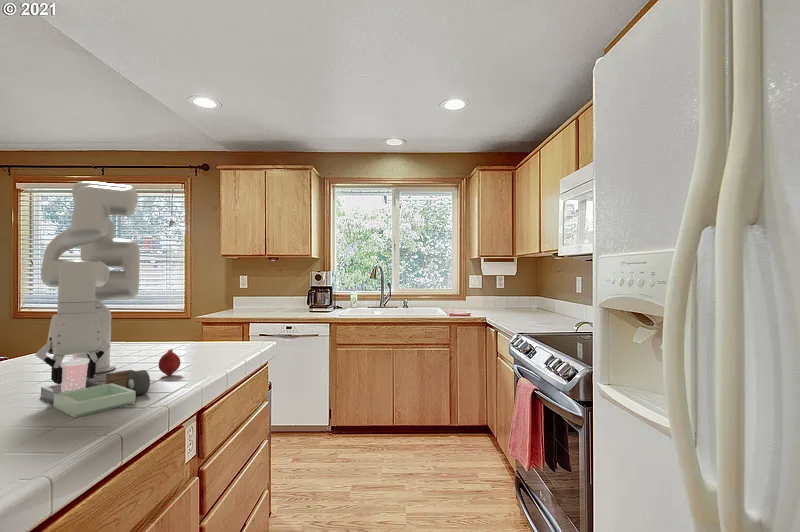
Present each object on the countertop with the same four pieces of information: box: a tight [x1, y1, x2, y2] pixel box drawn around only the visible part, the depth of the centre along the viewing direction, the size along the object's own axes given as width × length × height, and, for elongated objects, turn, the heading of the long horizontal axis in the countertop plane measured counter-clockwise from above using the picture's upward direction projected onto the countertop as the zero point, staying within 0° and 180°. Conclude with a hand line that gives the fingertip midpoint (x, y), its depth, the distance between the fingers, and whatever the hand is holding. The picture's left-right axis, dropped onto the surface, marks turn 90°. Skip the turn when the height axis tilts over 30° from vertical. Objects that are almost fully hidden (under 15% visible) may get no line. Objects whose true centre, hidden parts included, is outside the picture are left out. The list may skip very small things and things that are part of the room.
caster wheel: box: [126, 369, 151, 396], centre depth 106 cm, size 6×3×6 cm, turn 57°
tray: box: [53, 383, 137, 418], centre depth 97 cm, size 12×12×3 cm
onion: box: [158, 348, 181, 376], centre depth 126 cm, size 6×6×8 cm
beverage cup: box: [60, 354, 90, 392], centre depth 104 cm, size 6×6×14 cm
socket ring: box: [40, 378, 105, 404], centre depth 104 cm, size 10×10×2 cm
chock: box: [105, 369, 135, 388], centre depth 111 cm, size 5×6×4 cm
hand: (73, 379), depth 104 cm, fingers closed on beverage cup, 6 cm apart
